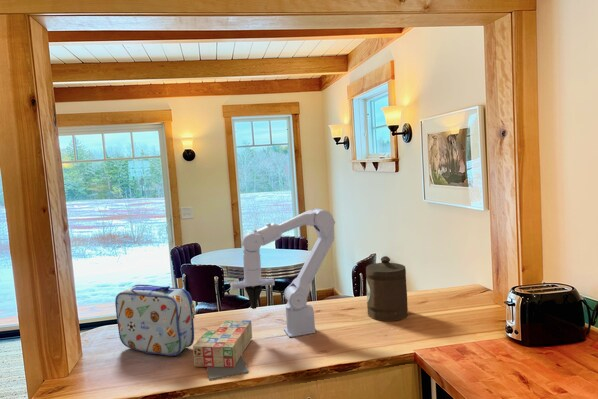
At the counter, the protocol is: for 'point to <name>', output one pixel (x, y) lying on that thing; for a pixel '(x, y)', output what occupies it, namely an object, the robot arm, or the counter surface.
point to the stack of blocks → (223, 344)
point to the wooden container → (386, 290)
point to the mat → (227, 370)
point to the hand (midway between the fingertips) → (253, 307)
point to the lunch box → (155, 319)
